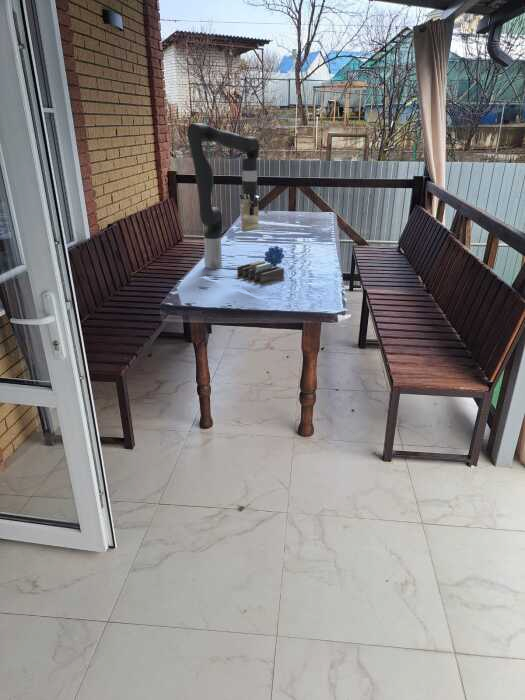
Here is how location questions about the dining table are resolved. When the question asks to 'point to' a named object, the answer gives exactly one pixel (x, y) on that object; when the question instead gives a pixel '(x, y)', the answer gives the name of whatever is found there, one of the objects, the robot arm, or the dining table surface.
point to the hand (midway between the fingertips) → (250, 214)
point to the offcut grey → (263, 266)
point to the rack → (260, 274)
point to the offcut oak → (253, 265)
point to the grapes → (274, 255)
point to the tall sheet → (248, 216)
